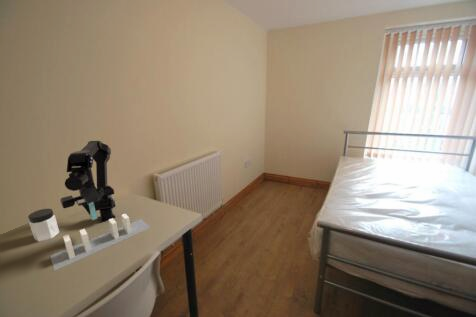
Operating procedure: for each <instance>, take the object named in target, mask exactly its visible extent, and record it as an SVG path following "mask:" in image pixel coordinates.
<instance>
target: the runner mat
mask: <svg viewBox="0 0 476 317" xmlns="http://www.w3.org/2000/svg"><path fill="white" fill-rule="evenodd" d="M130 225H131V231H132V232H131V233H128V234H127V232H126V231H125V230H124V228H123V225H122V226H120V227H117V228H118V233H119V238H117V239H114V237H113V236H112V235H111V230H109V232H108V231H107V232H105V233H104V234H100V235H98V236H96V237H93V238H91V239H89V242H90V246H91V250H90V251H87V252H86V251H85V249H84V247H83V243H82V242H80V243H79V244H76V245H72V246H73V250H74V253H75V257H74V258H71V259H70V258H69V256H68V253H67V250H66V249H63V250H61V251H58V252H57V253H53V254H52V255H49V256H50V260H51V264H52V266H53V270H54V271H57V270H60V269H62V268H64V267H66V266H68V265H71V264H73V263H75V262H77V261H79V260H81V259H84V258H87V257H88V256H91V255H93V254H95V253H97V252H100V251H102V250H104V249H106V248H108V247H111V246H113V245H115V244H117V243H120V242H121V241H124V240H126V239H128V238H130V237H132V236H135V235H137V234H139V233H141V232H145V231H146V230H148V229H151V228H152V227H151V226H150V225H149V224H148V222H146V221H145V220H143V218H140V219H137V220H134V221H133V222H130Z"/></svg>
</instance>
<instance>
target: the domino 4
mask: <svg viewBox="0 0 476 317" xmlns="http://www.w3.org/2000/svg"><path fill="white" fill-rule="evenodd" d="M108 223H109V224H108V225H109V229H110V230H109V231H111V235H112V236H113V237H114V239H117V238H119V233H118V228H119V227H118V222H117V221H116V220H115V218H112V219H109V220H108Z"/></svg>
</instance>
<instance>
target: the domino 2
mask: <svg viewBox="0 0 476 317" xmlns="http://www.w3.org/2000/svg"><path fill="white" fill-rule="evenodd" d="M79 235H80V239H81V243H83V247H84V249H85V251H86V252H87V251H90V250H91V246H90V242H89V240H90V238H89V234H88V232H87V231H86V229H85V228H83V229H80V230H79Z"/></svg>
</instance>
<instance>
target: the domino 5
mask: <svg viewBox="0 0 476 317" xmlns="http://www.w3.org/2000/svg"><path fill="white" fill-rule="evenodd" d="M130 220H131V219H130V217H129V216H128V214H126V213H122V214H121V221H122V226H123V228H124V230H125V231H126V232H127V234H128V233H131V232H132V231H131V225H130V223H131V221H130Z"/></svg>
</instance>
